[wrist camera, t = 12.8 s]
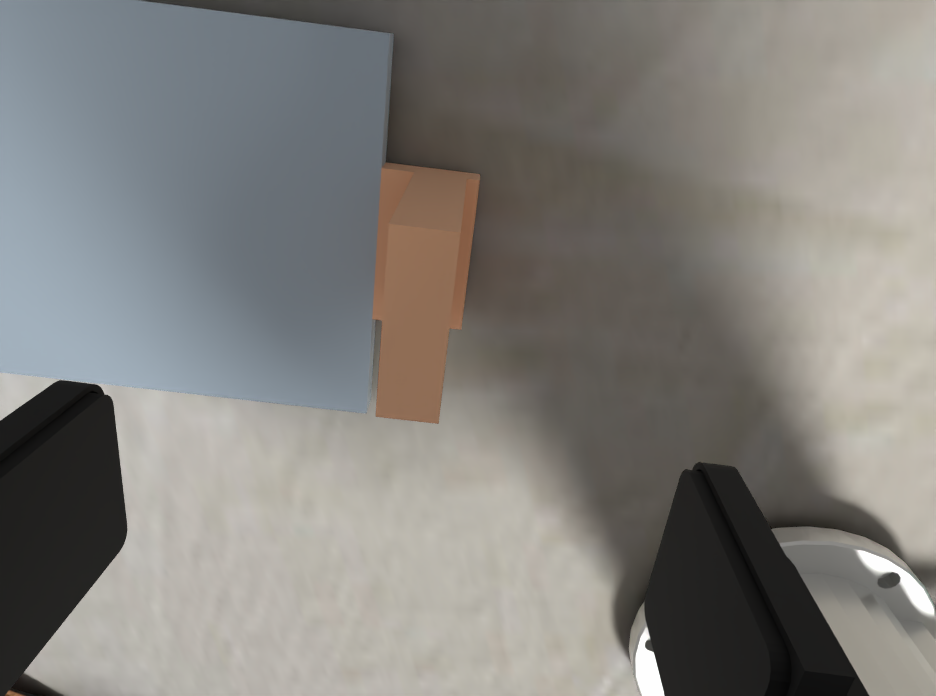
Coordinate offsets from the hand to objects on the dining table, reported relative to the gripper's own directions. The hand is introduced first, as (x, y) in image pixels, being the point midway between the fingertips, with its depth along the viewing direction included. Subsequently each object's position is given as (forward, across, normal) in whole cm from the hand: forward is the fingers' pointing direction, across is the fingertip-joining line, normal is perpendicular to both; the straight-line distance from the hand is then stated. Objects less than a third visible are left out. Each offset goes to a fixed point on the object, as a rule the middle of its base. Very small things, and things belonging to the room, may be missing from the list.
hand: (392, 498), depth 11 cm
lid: (+12, +11, -1) cm, 16 cm away
